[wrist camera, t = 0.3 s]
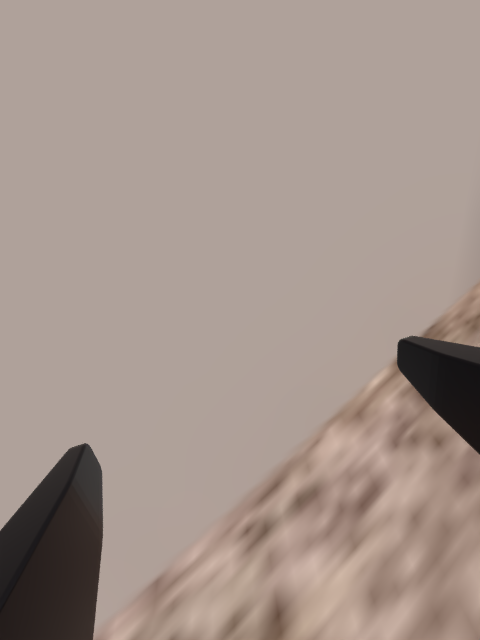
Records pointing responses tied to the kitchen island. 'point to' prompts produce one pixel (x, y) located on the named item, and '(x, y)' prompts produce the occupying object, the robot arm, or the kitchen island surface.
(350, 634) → the kitchen island surface
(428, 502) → the kitchen island surface
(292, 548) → the kitchen island surface
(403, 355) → the robot arm
